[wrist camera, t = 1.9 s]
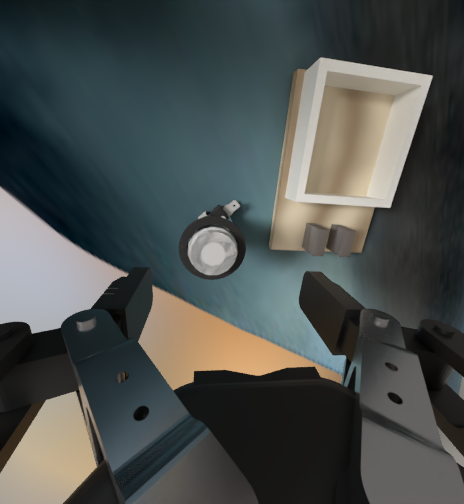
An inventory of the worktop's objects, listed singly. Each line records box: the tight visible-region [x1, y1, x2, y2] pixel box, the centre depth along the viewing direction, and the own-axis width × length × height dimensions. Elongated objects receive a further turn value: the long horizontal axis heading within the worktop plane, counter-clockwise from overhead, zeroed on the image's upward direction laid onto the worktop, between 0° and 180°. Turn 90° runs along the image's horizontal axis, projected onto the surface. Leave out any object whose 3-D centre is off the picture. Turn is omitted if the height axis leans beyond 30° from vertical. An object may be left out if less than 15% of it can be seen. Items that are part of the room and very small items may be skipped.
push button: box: [179, 200, 246, 280], centre depth 21 cm, size 7×5×10 cm
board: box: [269, 68, 394, 257], centre depth 24 cm, size 12×18×4 cm, turn 176°
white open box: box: [285, 57, 433, 208], centre depth 22 cm, size 11×12×3 cm
